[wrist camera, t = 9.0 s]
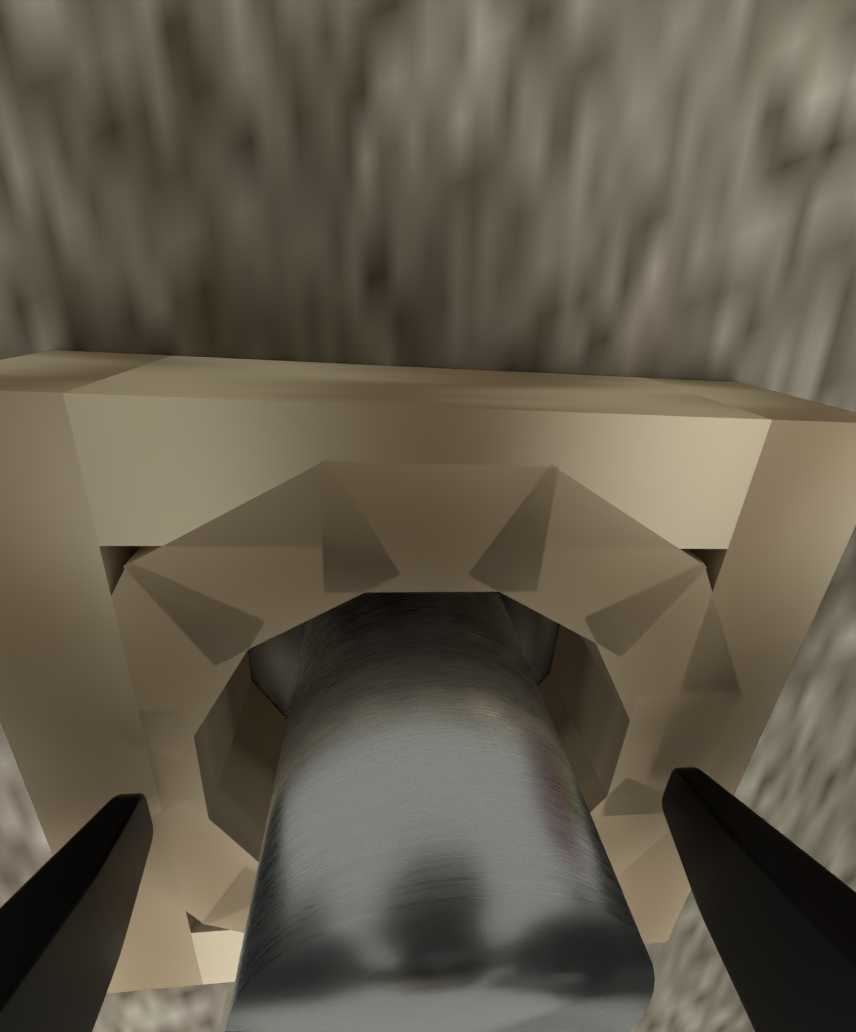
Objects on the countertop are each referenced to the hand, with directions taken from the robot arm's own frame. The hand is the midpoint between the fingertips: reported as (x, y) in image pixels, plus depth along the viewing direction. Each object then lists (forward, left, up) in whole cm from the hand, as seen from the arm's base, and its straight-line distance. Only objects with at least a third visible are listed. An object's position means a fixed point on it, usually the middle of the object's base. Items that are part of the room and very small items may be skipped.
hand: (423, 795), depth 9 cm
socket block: (0, 0, -4) cm, 4 cm away
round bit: (0, 0, -4) cm, 4 cm away
